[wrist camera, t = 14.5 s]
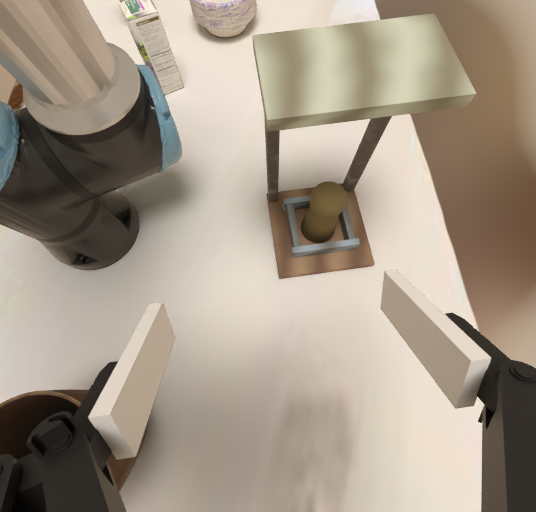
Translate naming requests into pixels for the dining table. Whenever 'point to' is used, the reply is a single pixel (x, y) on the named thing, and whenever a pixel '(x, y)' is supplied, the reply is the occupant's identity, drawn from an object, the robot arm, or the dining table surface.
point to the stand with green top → (347, 114)
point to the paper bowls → (224, 15)
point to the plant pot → (38, 409)
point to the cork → (323, 212)
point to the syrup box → (152, 42)
